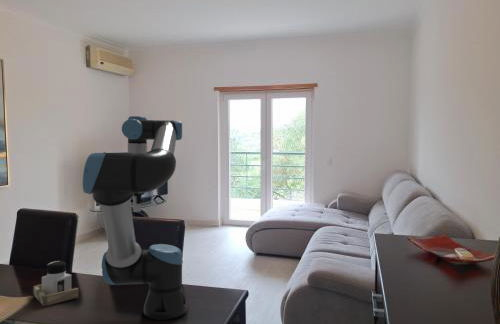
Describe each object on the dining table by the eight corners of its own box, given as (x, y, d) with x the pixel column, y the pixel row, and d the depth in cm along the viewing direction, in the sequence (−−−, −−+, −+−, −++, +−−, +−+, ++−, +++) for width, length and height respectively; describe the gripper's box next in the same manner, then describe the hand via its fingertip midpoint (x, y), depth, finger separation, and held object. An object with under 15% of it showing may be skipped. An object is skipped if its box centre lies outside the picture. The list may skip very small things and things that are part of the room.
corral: (78, 297, 143) (78, 288, 143) (43, 306, 134) (43, 297, 134) (66, 287, 153) (66, 278, 153) (33, 294, 145) (33, 286, 145)
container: (71, 293, 146) (71, 261, 146) (53, 300, 140) (53, 266, 139) (59, 289, 150) (59, 258, 150) (41, 296, 143) (41, 263, 143)
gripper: (153, 154, 148) (153, 212, 149) (138, 154, 158) (138, 208, 158) (136, 154, 143) (136, 214, 144) (121, 154, 152) (121, 210, 153)
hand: (137, 211), depth 151 cm, fingers closed
